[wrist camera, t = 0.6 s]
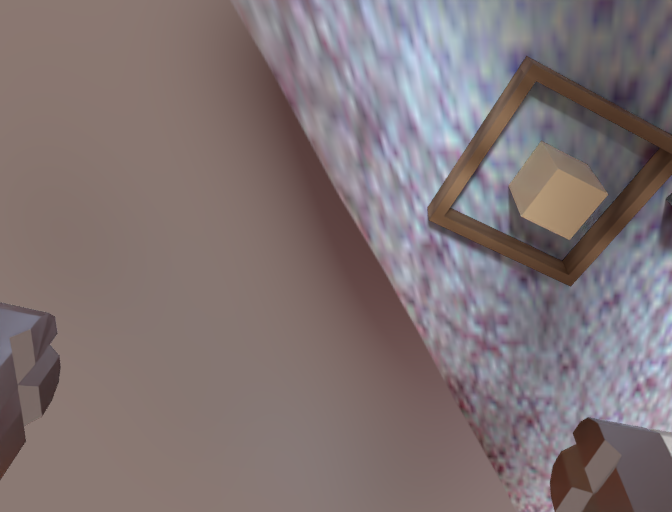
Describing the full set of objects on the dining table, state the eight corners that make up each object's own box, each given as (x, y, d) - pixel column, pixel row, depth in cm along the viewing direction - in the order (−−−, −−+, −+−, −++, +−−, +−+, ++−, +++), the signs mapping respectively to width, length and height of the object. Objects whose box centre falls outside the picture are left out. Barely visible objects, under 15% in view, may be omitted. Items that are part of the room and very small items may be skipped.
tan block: (541, 140, 51) (558, 168, 46) (587, 164, 52) (608, 194, 47) (508, 185, 54) (520, 216, 49) (552, 207, 55) (569, 240, 50)
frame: (526, 55, 47) (533, 63, 45) (680, 139, 50) (693, 150, 48) (427, 207, 55) (429, 220, 53) (564, 272, 58) (570, 286, 56)
